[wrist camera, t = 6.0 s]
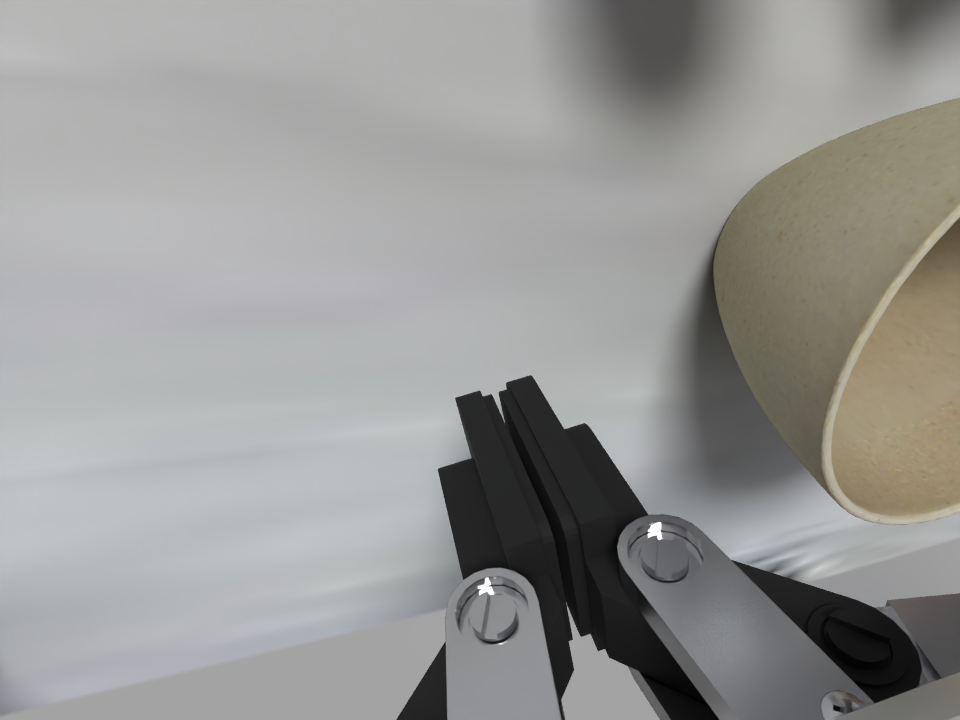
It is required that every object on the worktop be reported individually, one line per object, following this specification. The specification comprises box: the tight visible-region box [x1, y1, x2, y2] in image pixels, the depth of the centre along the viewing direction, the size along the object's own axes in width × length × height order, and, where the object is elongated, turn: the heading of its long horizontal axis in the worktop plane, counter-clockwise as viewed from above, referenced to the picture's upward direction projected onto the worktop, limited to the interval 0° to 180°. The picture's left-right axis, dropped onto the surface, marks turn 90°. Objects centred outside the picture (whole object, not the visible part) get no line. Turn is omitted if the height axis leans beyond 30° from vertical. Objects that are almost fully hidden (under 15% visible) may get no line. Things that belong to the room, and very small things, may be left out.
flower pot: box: [713, 98, 960, 525], centre depth 14 cm, size 10×10×7 cm
